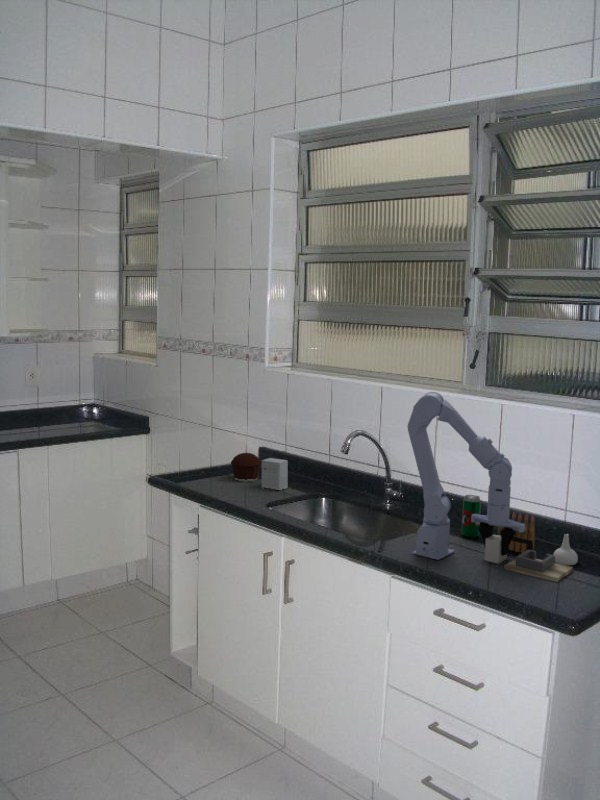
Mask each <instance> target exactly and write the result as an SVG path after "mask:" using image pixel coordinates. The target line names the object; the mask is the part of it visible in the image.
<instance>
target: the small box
mask: <svg viewBox="0 0 600 800" xmlns="http://www.w3.org/2000/svg"><path fill="white" fill-rule="evenodd" d="M288 465H289V462H288V460H287V459H282V458H273V457H269V458H265V459H262V460H261V488H262V487H266V488H271V489H276V490H281V491H283V490H282V489H284V490H287V489H288V485H289V484H288V478H289V476H288V475H289V474H288V473H289V472H288V471H289V470H288V467H289V466H288Z"/></svg>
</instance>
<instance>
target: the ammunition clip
mask: <svg viewBox="0 0 600 800" xmlns="http://www.w3.org/2000/svg"><path fill="white" fill-rule="evenodd" d="M509 519H510V520H513V521H516V522H519V523H522V524H525V531H524V532H522V533H521V532H518V531H516V533H515V535H514V536H513V538H512V540H511V542H510V544H509V547H508V550H507V554H508V555H511V556H515V557H516V556H518V555H520V554H522V553H523V552H525V551H527V550H533V551H536V539H535V538H536V529H535V528H536V526H535V523H536V519H535V515H534V514H532V515H531V518H530V522H529V515H528V513H526V514H525V515H524V519H523V515H522V513H521V512H519V513H518V517H517V514H516V511H513V512H512V516H511V513H510V511H509ZM503 529H504V528H501V527H497V534H496V535H501V533H500V531H501V530H503Z"/></svg>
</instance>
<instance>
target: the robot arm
mask: <svg viewBox="0 0 600 800" xmlns="http://www.w3.org/2000/svg"><path fill="white" fill-rule="evenodd" d="M435 418H437V421H438V422H442V423H443V422H444V423H447V424H449V426H451V428H453V429H454V430H455V432H456V433H458V434H459V436H460V437H461V438H462V439H464V440H465V442H466V443H468V452H469V453H470V454H471V455H472V456H473V457H474V459H475V460H476V461H477V462H478V463H479V464H480V465H481V466H482V467H483V468H484V469H485V470H488V476H489V485H488V490H487V491H488V492H487V493H488V494H487V507H486V510H487V511H486V514H485V515H484V514H480V515H479V514H473V515H471V522H474V523H475V522H478V523H480V526H478V530H479V535H480V536H481V539H482V540H483V546H484V548H485V542H486V538H488V537H490V536H492V535H493V531H494V527H497V528H498V527H501V528H504V529H503V530H501V531H500V533H501V543H502V544H501V555H503V556H504V555H506V554H507V550H508V547H509V544H510V542H511V540H512V538H513V536H514V535H515V533H516V531H518V532H521V533H522V532H524V531H525V524H524V523H523V522H522V523H519V522H518V521H517V520H516V521H513V520H512V519H511V518H510V519H509V512H510V509H511V508H510V507H511V506H510V505H511V491H512V490H511V485H512V482H511V481H512V480H511V478H512V475H513V473H512V472H513V467H512V463H511V461H510V460H509V459H508V458H507V457H505V455H504V453H501V452H500V451H498V449H497V448H496V447H495V445H493V440H491V438H488V439H487V437H486V436H481V435H477V434H476V432H475V431H474V430H473V429H472V427H471V426H470V425H469V424H468V423H467V421H466V420H465V419H464V418H463V417H462V415H461V414H460V413H459V412H458V411H457V409H456V408H455V407H454V406H453V405H452V404H451V403H450V402H449V401H448V400H446V399H444V397H443V395H441V393H439V392H437V391H430V392H429V391H428V392H427V393H426V394H424V395H423V396H421V397H420V398H419V399H418V401H416V403H415V404H414V405H413V408H412V412H411V414H410V418H409V420H408V422H407V426H406V427H407V432H408V435H409V439H410V444H411V447H412V451H413V455H414V459H415V462H416V467H417V470H418V474H419V478H420V482H421V486H422V490H423V491H422V492H423V493H422V495H423V502H424V508H423V519H422V520H423V521H422V525H420V527H419V528H418V529H417V532H416V542H415V545H416V546H415V550H414V551H412V554H414V555H418V556H422V557H425V558H429V559H435V560H437V561H439V560H442V559H443V558H445V557H447V556H449V555H451V554H454V553H455V549H450V528H451V519H450V518H449V516H448V513H449V512H450V510H451V508H452V507H451V505H452V503H451V500H450V498H449V497H448V496H447V495H446V492H445V491H444V488H443V486H442V484H441V482H440V477H439V473H438V469H437V466H436V462H435V457H434V453H433V451H432V446H431V442H430V439H429V434H428V432H427V429H428V427H429V425H430V424H431V422H432V421H433V420H434V419H435Z"/></svg>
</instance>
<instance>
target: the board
mask: <svg viewBox="0 0 600 800" xmlns="http://www.w3.org/2000/svg"><path fill="white" fill-rule="evenodd" d="M536 560H537V561H542V560H543V559H539V558H536ZM515 565H516V558H514V559H512V561H509V562H508V563H506V564H504V568H503V569H504V570H506V571H511V572H513V573H514V572H515V573H519V574H522V575H527V576H530V577H531V576H532V577H536V578H540V579H542V580H548V581H552V582H555V583H558V582H560V581H561V580H562V579H563V578H566V576H568V575H569V574H571V573H572V572H573V571H574V567H573V566H571V565H562V564H558V563H556V562H555V564H554V565H553V566H552V567H550V568H549V569H547V570H546V571H544V572H543V573H542V572H538V571H534V570H529V569H525V568H521V567H517V566H515Z"/></svg>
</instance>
